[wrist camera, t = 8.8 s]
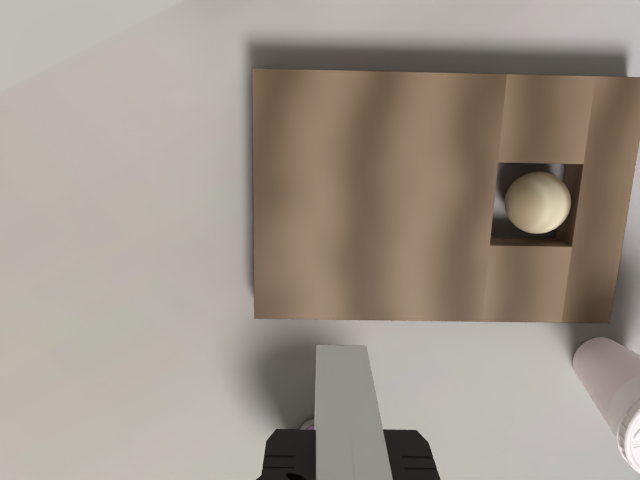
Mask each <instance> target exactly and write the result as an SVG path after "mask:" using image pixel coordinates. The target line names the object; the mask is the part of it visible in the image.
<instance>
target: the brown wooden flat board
mask: <svg viewBox="0 0 640 480" xmlns="http://www.w3.org/2000/svg"><path fill="white" fill-rule="evenodd" d="M252 99H253V215H254V319H323V320H399V321H476V322H552V323H610V319H611V313H612V306H613V300H614V294H615V288H616V282H617V276H618V269H619V263H620V257H621V251H622V245H623V239H624V232H625V226H626V220H627V214H628V208H629V202H630V195H631V189H632V183H633V177H634V171H635V165H636V159H637V152H638V146H639V140H640V77H606V76H562V75H518V74H474V73H431V72H387V71H343V70H299V69H255V68H252ZM498 162H501V163H553V164H565V172H564V180H563V183H564V184H565V185H566V187H567V188H568V190H569V193H570V197H571V207H570V211H569V214H568V216H567V217H566V219H565V220H564V222H563V223H562V224H561V225H559V226H558V227H557V233H556V237H501V236H491V228H492V218H493V208H494V198H495V189H496V179H497V169H498Z"/></svg>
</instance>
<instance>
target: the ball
mask: <svg viewBox="0 0 640 480" xmlns="http://www.w3.org/2000/svg"><path fill="white" fill-rule="evenodd" d="M570 207H571V197H570V193H569V190H568V188H567V187H566V185H565V184H564V183H563V181H562V180H560V179H559V178H558V177H556V176H554V175H552V174H550V173H546V172H531V173H527V174H525V175H523V176H521V177H519V178H518V179H516V180H515V181H514V182H513V183H512V184H511V186H510V187H509V189H508V191H507V193H506V196H505V210H506V213H507V216H508V218H509V219H510V221H511V222H512V223H513V224H514V225H515V226H516V227H517V228H519V229H521V230H523V231H525V232H528V233H535V234H539V233H546V232H549V231H551V230H554V229H555V228H557V227H558V226H559V225H561V224H562V223H563V222H564V220H565V219H566V217H567V216H568V214H569V211H570Z"/></svg>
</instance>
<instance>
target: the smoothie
mask: <svg viewBox="0 0 640 480" xmlns="http://www.w3.org/2000/svg"><path fill="white" fill-rule="evenodd" d="M573 369H574V371H575V373H576V375H577V376H578V378H579V380H580V381H581V383H582V384H583V386H584V387H585V389H586V391H587V392H588V394H589V395H590V397H591V398H592V400H593V402H594V403H595V405H596V406H597V408H598V409H599V411H600V413H601V414H602V416H603V417H604V419H605V420H606V422H607V424H608V425H609V427H610V428H611V430H612V432H613V433H614V435H615V436H616V439H617V446H618V449H619V451H620V453H621V455H622V457H623V458H624V459H625V460H626V461H627V462H628V463H629V465H630V466H632V467H633V468H634V469H635V470H636V471H637V472H638V473H639V474H640V355H638V354H636V353H635V352H633V351H631V350H629V349H628V348H626V347H624V346H622V345H620V344H619V343H617V342H615V341H613V340H611V339H609V338H605V337H597V338H592V339H590V340H588V341H586V342H584V343H583V344H582V345H581V346H580V347H579V348H578V349H577V350H576V352H575V354H574V357H573Z"/></svg>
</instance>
